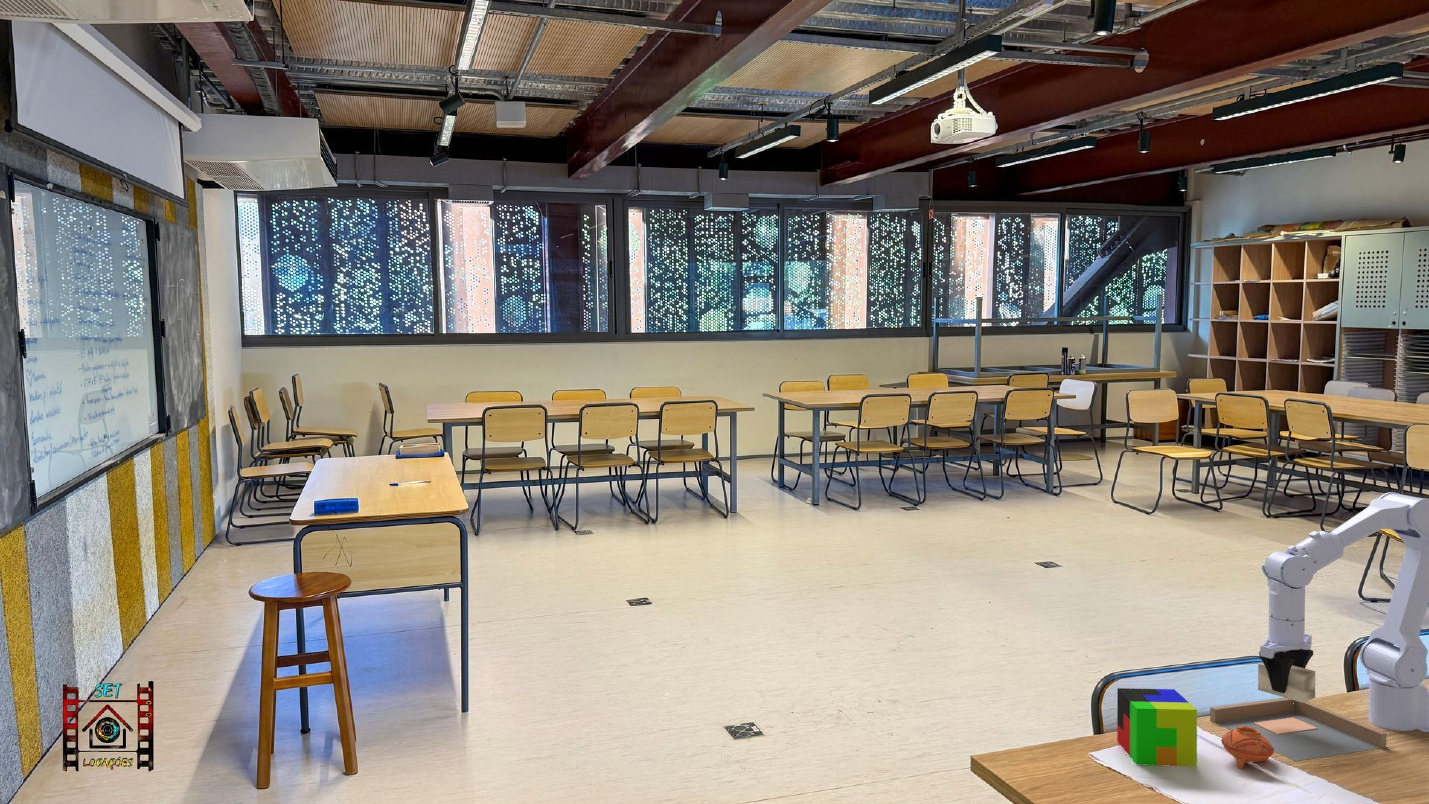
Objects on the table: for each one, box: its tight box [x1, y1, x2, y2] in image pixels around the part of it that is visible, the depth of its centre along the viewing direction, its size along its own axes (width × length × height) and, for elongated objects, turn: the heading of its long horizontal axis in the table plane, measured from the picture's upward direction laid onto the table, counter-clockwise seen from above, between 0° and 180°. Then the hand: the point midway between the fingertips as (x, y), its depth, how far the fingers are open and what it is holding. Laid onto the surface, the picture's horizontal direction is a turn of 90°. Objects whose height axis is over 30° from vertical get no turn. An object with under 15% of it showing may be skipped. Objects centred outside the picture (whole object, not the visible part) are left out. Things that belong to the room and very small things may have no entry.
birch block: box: [1257, 662, 1316, 703], centre depth 174 cm, size 4×8×5 cm, turn 32°
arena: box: [1209, 697, 1388, 762], centre depth 171 cm, size 20×19×3 cm
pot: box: [1220, 726, 1274, 770], centre depth 160 cm, size 8×8×7 cm
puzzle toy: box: [1116, 687, 1198, 767], centre depth 165 cm, size 10×10×10 cm
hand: (1285, 688), depth 174 cm, fingers closed on birch block, 4 cm apart
